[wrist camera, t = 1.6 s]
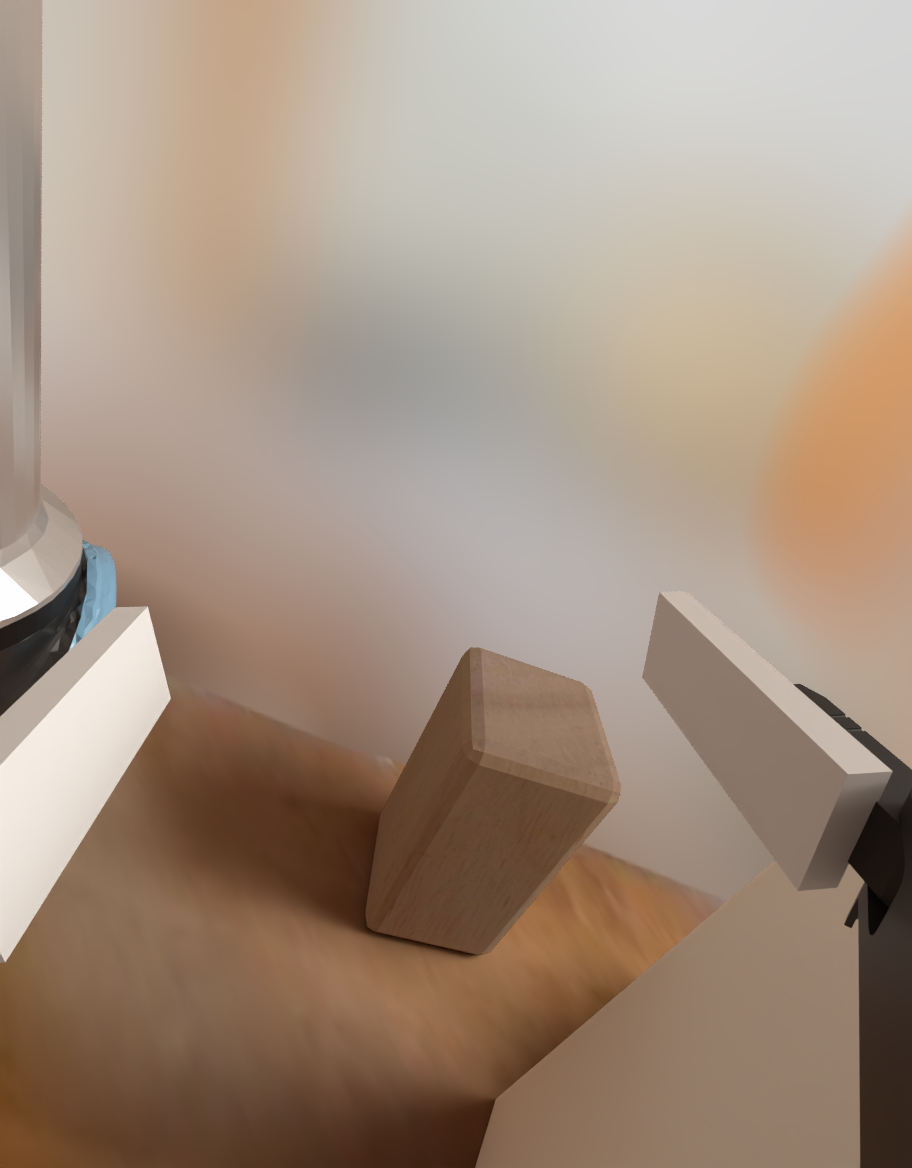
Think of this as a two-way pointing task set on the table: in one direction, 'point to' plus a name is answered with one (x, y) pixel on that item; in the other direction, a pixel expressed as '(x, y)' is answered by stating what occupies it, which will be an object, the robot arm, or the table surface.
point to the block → (489, 804)
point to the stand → (710, 1050)
